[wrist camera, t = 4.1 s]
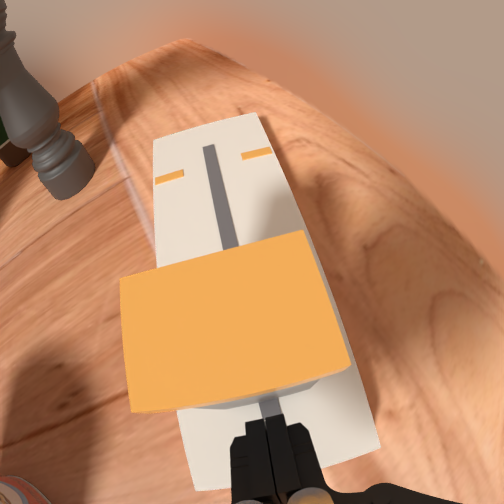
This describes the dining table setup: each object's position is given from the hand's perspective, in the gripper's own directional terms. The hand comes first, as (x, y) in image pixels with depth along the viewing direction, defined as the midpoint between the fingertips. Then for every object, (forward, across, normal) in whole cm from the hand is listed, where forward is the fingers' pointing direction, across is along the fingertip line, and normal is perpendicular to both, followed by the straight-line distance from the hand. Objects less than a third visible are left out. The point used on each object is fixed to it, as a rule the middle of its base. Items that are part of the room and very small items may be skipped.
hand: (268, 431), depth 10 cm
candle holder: (+24, +16, -14) cm, 32 cm away
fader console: (+12, 0, -3) cm, 13 cm away
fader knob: (+5, 0, 0) cm, 5 cm away
